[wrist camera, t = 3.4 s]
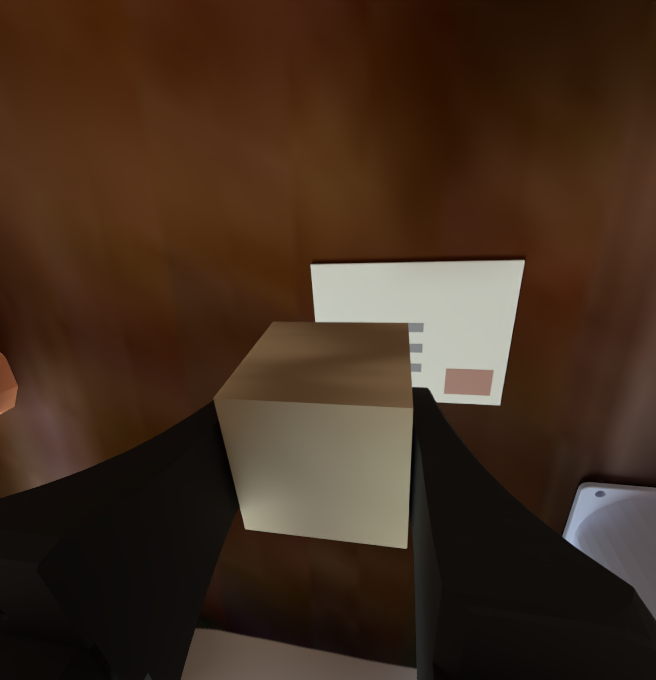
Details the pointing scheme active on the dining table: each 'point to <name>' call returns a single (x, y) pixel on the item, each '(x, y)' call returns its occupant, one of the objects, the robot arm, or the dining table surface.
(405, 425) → the oak block
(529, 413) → the dining table surface
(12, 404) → the potted cactus
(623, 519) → the robot arm
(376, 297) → the letter
